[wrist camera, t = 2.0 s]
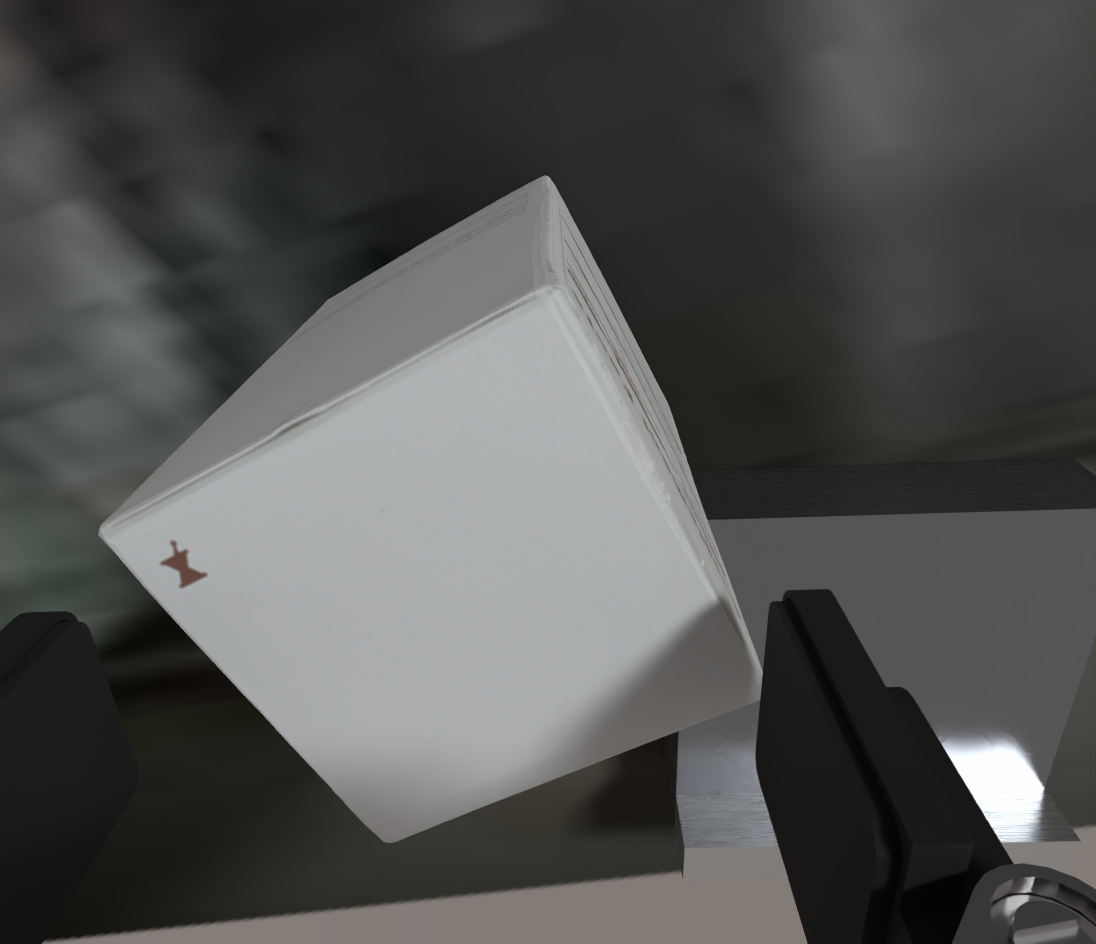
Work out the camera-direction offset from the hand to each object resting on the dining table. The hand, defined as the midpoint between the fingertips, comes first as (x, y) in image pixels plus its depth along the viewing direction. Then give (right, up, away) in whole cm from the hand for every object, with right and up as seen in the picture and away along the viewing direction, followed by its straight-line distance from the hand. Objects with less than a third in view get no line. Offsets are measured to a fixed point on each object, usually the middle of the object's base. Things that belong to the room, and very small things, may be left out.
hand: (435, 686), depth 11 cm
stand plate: (+12, -2, +16) cm, 20 cm away
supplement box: (0, +6, +12) cm, 13 cm away
